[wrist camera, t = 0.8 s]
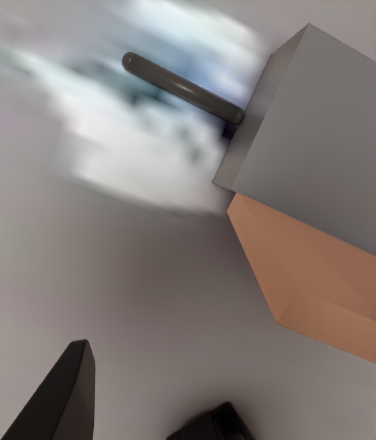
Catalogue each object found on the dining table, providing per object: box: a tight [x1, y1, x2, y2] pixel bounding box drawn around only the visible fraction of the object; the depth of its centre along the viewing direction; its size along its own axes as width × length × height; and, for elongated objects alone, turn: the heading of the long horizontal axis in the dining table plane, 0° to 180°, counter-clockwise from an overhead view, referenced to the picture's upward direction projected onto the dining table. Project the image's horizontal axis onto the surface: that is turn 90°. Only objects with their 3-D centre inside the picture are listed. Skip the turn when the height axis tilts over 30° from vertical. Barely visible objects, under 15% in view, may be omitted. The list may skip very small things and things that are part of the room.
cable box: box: [122, 23, 376, 255], centre depth 24 cm, size 10×29×6 cm, turn 65°
